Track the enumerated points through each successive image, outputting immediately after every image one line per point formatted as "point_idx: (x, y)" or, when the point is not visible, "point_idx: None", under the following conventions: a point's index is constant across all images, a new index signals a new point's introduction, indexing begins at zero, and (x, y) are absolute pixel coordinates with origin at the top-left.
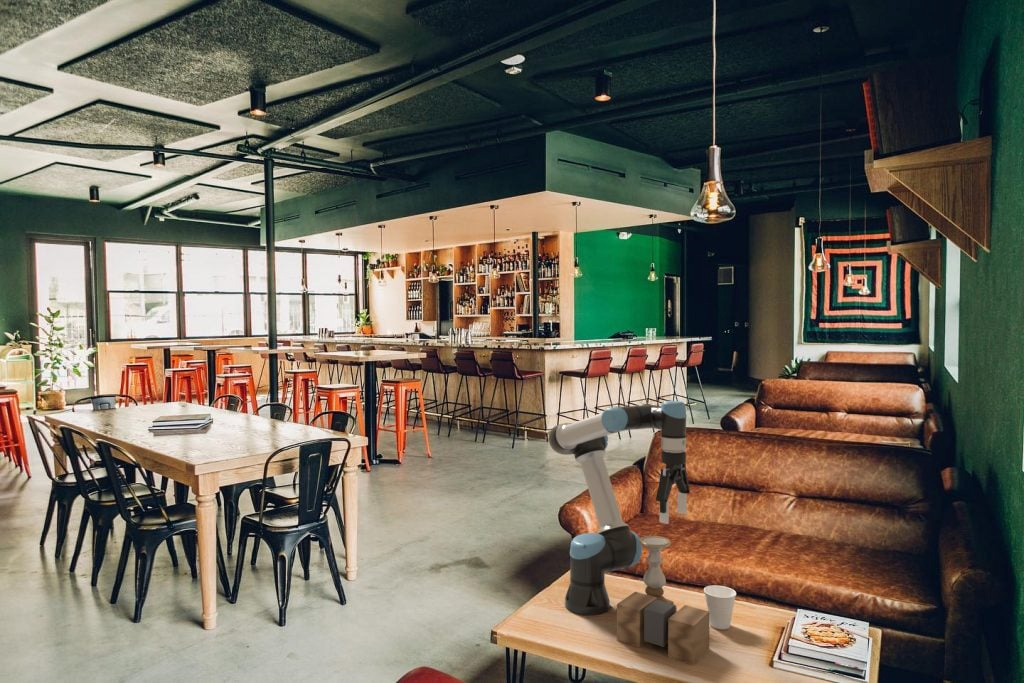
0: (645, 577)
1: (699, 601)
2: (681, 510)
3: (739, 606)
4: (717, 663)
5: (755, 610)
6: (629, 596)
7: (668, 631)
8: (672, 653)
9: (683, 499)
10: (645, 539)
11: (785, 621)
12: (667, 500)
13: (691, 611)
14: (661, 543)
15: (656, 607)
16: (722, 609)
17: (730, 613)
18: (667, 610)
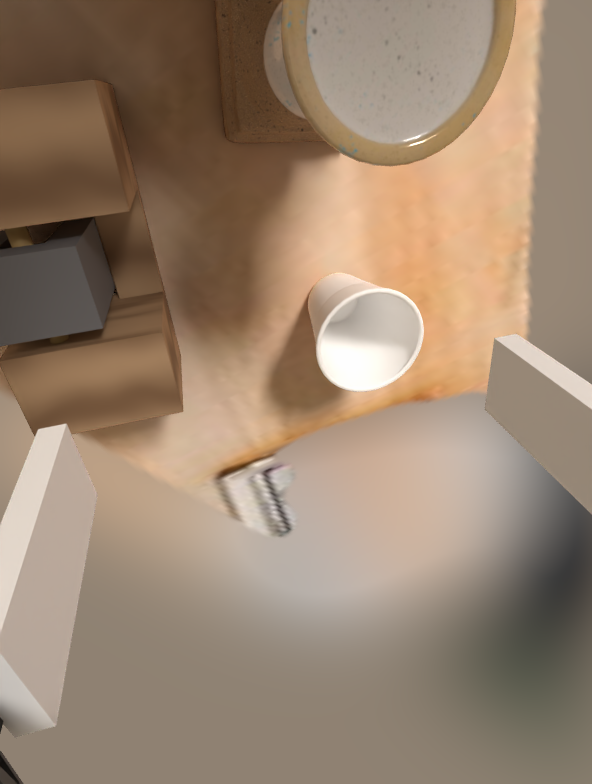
0: (279, 17)
1: (470, 154)
2: (507, 390)
3: (496, 271)
4: None
5: (491, 315)
6: (13, 95)
7: None
8: None
9: (589, 484)
10: None
11: (463, 392)
12: (6, 771)
13: (131, 377)
14: (389, 106)
15: (9, 293)
16: (321, 351)
17: (342, 354)
18: (29, 339)
